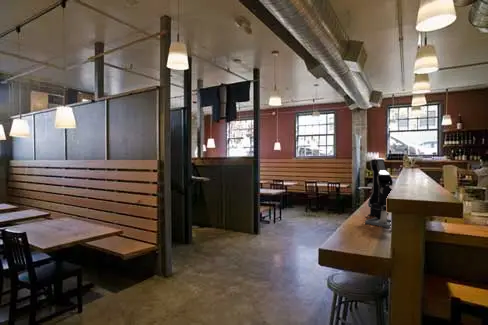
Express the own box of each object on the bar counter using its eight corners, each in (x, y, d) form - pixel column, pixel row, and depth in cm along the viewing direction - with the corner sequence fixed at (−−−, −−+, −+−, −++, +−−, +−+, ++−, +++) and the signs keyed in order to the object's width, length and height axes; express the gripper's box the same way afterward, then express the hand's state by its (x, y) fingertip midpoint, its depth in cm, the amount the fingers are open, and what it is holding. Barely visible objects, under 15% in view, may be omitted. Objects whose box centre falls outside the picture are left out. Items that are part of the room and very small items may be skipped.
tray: (376, 220, 208) (376, 217, 208) (399, 224, 197) (400, 221, 197) (365, 223, 198) (365, 220, 198) (388, 228, 187) (388, 225, 187)
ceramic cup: (380, 221, 201) (380, 209, 201) (388, 223, 197) (388, 210, 197) (376, 222, 198) (377, 210, 197) (384, 224, 194) (384, 211, 194)
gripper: (389, 197, 184) (388, 223, 185) (403, 194, 196) (402, 218, 197) (371, 194, 193) (370, 219, 194) (385, 192, 205) (384, 215, 206)
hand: (382, 218), depth 197 cm, fingers open, 9 cm apart
